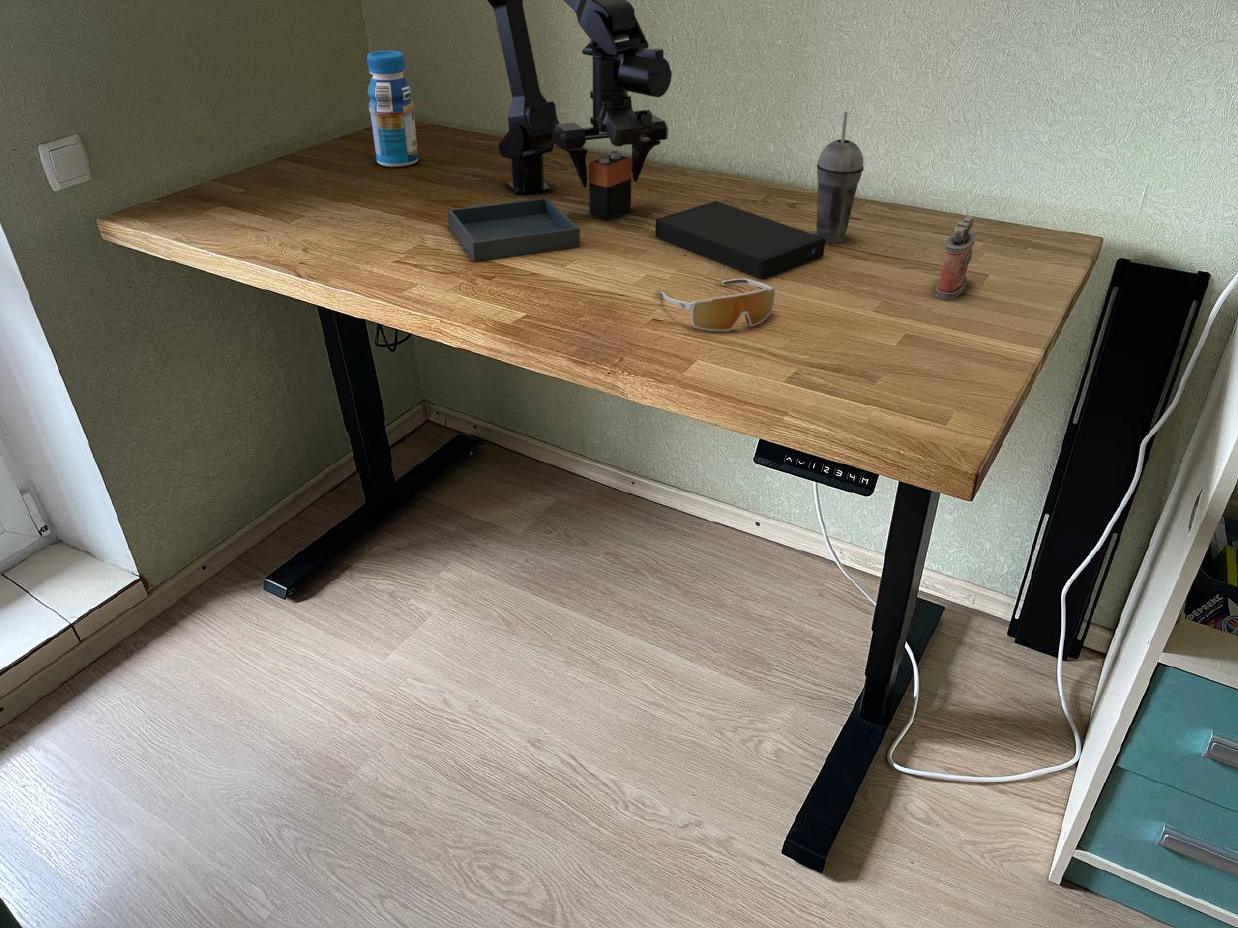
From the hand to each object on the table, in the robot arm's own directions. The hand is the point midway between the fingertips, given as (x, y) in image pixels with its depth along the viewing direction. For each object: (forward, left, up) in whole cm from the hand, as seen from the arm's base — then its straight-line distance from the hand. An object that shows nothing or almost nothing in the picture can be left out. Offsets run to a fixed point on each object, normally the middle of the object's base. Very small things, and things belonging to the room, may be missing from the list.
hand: (610, 184), depth 162 cm
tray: (+5, -19, -5) cm, 20 cm away
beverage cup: (+24, +29, -5) cm, 38 cm away
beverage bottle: (-43, -28, -5) cm, 51 cm away
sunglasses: (+42, -1, -5) cm, 42 cm away
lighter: (+48, +34, -5) cm, 59 cm away
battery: (0, 0, -5) cm, 5 cm away
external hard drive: (+22, +13, -5) cm, 26 cm away
